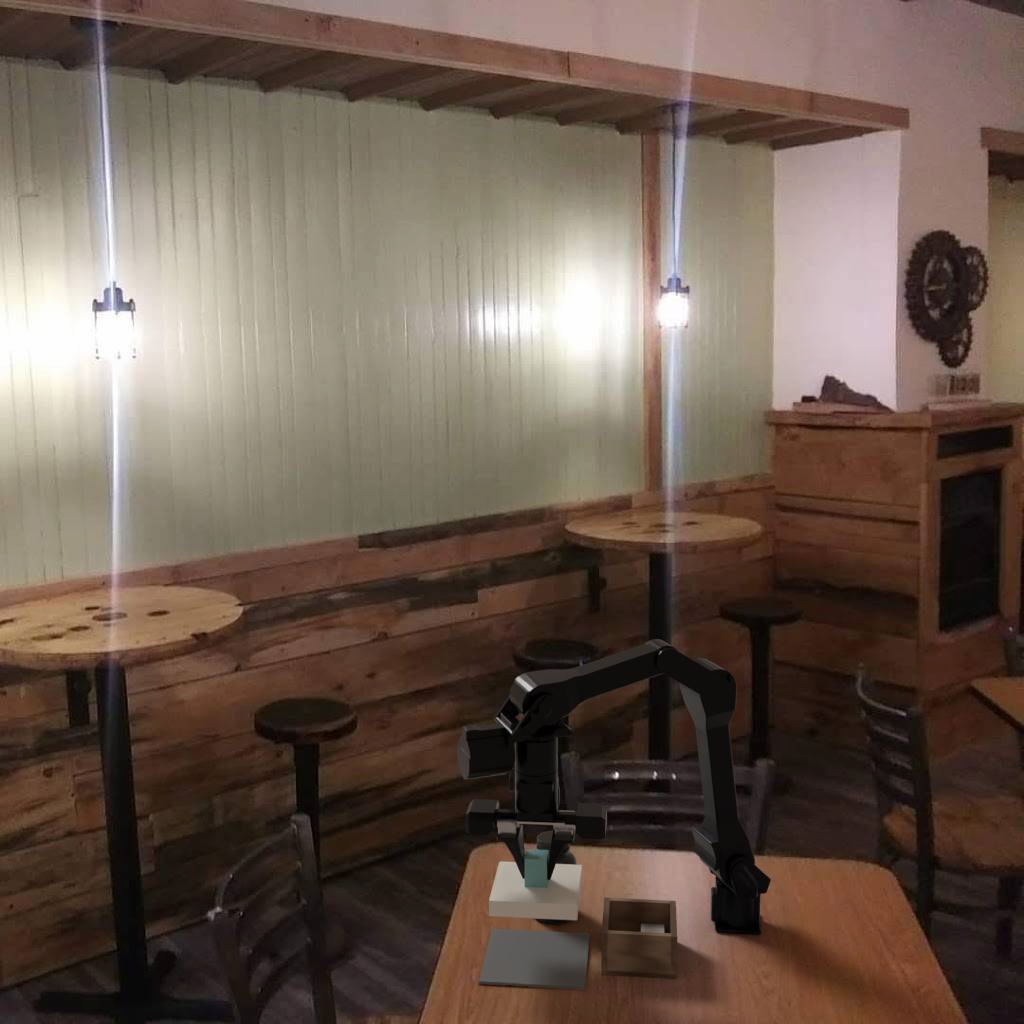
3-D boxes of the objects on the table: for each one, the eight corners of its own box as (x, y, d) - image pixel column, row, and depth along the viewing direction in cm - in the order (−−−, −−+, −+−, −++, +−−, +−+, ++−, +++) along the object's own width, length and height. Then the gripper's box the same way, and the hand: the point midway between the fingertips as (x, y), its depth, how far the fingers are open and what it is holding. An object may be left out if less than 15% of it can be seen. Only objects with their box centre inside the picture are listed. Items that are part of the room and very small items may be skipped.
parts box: (675, 940, 173) (675, 900, 172) (676, 978, 164) (677, 936, 163) (603, 936, 174) (604, 897, 173) (601, 974, 165) (601, 932, 164)
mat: (589, 936, 175) (589, 933, 175) (584, 989, 161) (584, 987, 161) (492, 931, 176) (492, 928, 176) (478, 983, 162) (478, 981, 162)
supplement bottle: (578, 903, 184) (578, 828, 182) (575, 926, 177) (576, 848, 176) (532, 901, 185) (532, 826, 183) (528, 924, 178) (528, 846, 176)
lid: (581, 879, 172) (581, 837, 171) (577, 920, 161) (577, 875, 160) (499, 876, 173) (499, 834, 172) (489, 916, 162) (488, 872, 161)
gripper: (608, 749, 171) (607, 854, 173) (475, 745, 173) (476, 849, 176) (605, 779, 160) (605, 891, 163) (463, 774, 162) (465, 885, 165)
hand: (536, 878), depth 167 cm, fingers closed on lid, 3 cm apart
